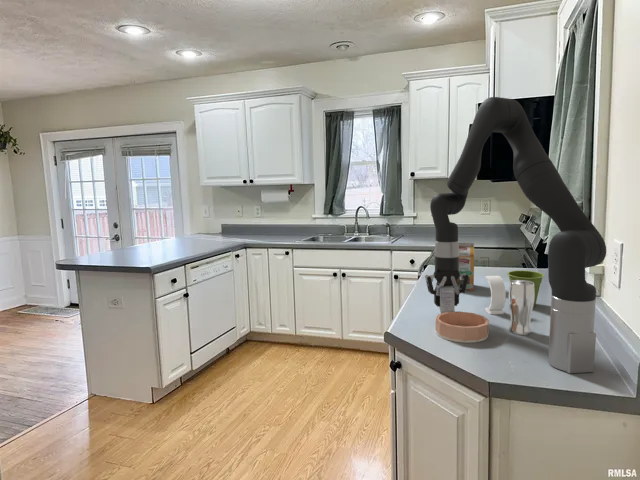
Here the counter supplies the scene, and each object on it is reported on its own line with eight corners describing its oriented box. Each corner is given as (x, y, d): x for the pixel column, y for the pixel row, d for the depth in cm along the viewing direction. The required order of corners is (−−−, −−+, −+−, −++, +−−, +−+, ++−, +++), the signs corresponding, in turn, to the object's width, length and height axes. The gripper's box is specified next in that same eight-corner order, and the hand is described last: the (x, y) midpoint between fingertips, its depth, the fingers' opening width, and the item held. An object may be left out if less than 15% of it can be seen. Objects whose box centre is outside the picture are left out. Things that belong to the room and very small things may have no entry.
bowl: (496, 341, 125) (497, 326, 124) (445, 344, 124) (446, 328, 123) (475, 324, 139) (476, 310, 139) (430, 326, 139) (430, 312, 138)
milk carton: (446, 289, 182) (446, 244, 180) (447, 283, 192) (447, 240, 190) (473, 291, 179) (474, 244, 176) (472, 284, 189) (473, 240, 186)
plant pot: (499, 303, 162) (500, 272, 160) (522, 298, 166) (524, 269, 165) (525, 311, 151) (527, 279, 149) (550, 306, 156) (552, 275, 154)
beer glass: (511, 326, 137) (513, 278, 135) (535, 330, 133) (537, 281, 130) (504, 332, 132) (505, 283, 130) (529, 337, 127) (531, 286, 125)
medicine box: (454, 315, 142) (454, 288, 141) (440, 314, 143) (440, 288, 142) (452, 308, 150) (452, 283, 149) (438, 307, 151) (438, 282, 150)
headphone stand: (497, 309, 154) (498, 275, 152) (505, 314, 148) (506, 279, 146) (484, 309, 154) (485, 276, 152) (491, 315, 148) (492, 280, 146)
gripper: (428, 257, 140) (428, 309, 142) (473, 255, 141) (472, 307, 143) (421, 253, 147) (421, 303, 149) (464, 252, 148) (463, 301, 150)
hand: (446, 305), depth 146 cm, fingers closed on medicine box, 5 cm apart
